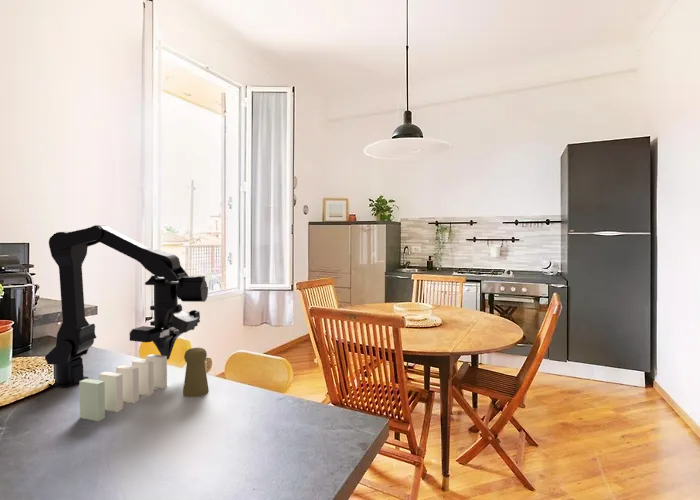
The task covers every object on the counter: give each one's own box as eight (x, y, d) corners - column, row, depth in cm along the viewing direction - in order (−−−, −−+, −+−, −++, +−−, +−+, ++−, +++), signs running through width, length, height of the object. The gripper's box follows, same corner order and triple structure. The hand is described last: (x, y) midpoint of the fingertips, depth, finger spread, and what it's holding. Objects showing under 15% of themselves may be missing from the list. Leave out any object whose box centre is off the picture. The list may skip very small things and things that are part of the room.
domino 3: (148, 395, 95) (148, 363, 94) (132, 393, 96) (131, 361, 96) (153, 393, 96) (153, 361, 96) (137, 390, 98) (137, 359, 97)
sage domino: (98, 421, 82) (97, 383, 82) (80, 417, 83) (79, 381, 83) (105, 417, 83) (104, 381, 83) (86, 414, 85) (86, 378, 84)
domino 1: (116, 411, 86) (116, 376, 86) (99, 408, 88) (98, 373, 87) (122, 408, 88) (122, 374, 87) (105, 405, 89) (105, 371, 89)
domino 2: (133, 403, 90) (133, 369, 90) (116, 400, 92) (116, 367, 92) (139, 400, 92) (138, 367, 92) (122, 397, 93) (121, 365, 93)
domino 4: (162, 388, 99) (162, 357, 99) (146, 386, 101) (146, 355, 100) (167, 386, 101) (166, 356, 100) (151, 384, 102) (151, 354, 102)
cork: (199, 398, 94) (199, 353, 93) (177, 395, 95) (177, 351, 94) (213, 388, 100) (213, 346, 99) (192, 386, 101) (191, 344, 100)
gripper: (164, 310, 92) (165, 375, 92) (213, 297, 110) (213, 352, 110) (127, 307, 95) (128, 369, 96) (180, 295, 113) (181, 348, 113)
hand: (166, 359), depth 104 cm, fingers closed
